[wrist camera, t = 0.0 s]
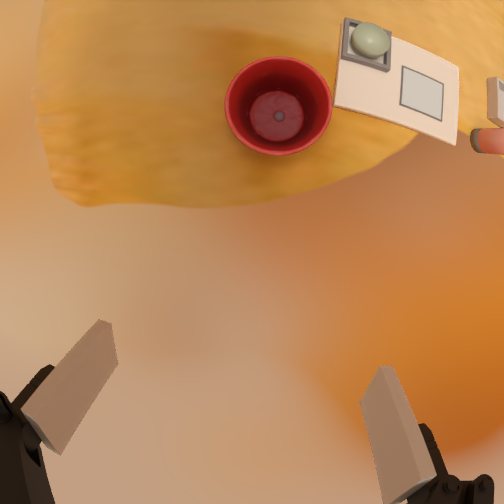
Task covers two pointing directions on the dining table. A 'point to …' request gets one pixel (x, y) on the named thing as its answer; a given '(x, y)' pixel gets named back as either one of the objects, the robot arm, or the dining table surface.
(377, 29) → the button
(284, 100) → the flower pot
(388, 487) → the robot arm
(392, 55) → the board
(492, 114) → the tray
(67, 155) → the dining table surface
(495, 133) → the tumbler
